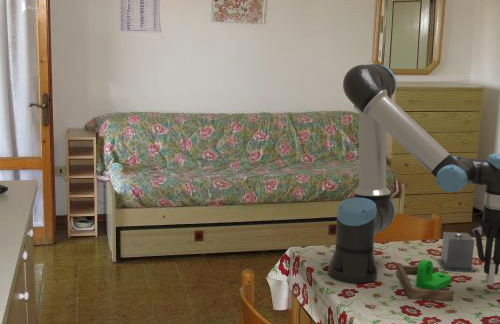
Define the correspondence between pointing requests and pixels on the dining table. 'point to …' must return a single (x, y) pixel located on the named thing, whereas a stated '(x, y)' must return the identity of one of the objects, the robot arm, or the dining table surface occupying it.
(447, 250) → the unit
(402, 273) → the bay
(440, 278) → the mechanical part
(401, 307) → the dining table surface
